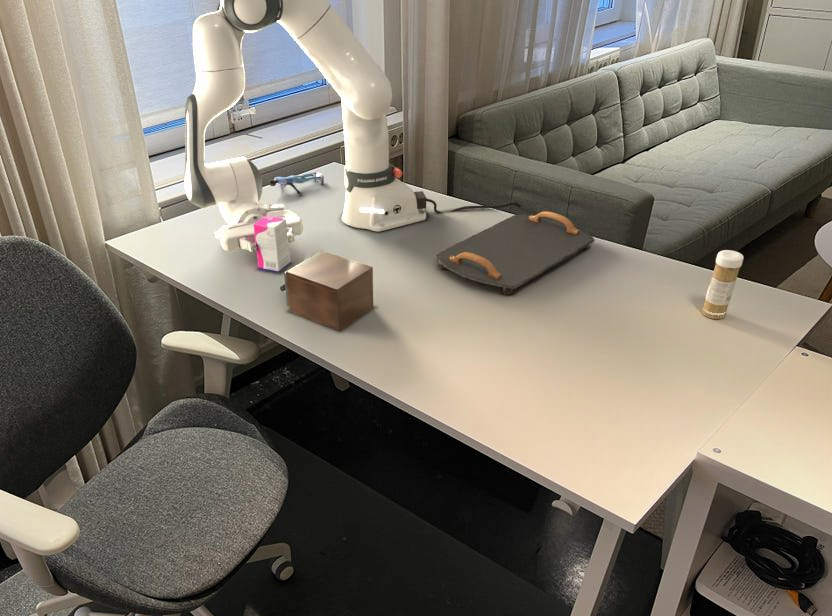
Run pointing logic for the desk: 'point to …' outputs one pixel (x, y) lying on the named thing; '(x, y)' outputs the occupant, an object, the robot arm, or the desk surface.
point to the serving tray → (515, 250)
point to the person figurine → (297, 180)
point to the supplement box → (272, 244)
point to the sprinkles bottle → (722, 283)
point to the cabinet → (330, 290)
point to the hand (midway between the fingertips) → (272, 243)
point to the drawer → (285, 288)
